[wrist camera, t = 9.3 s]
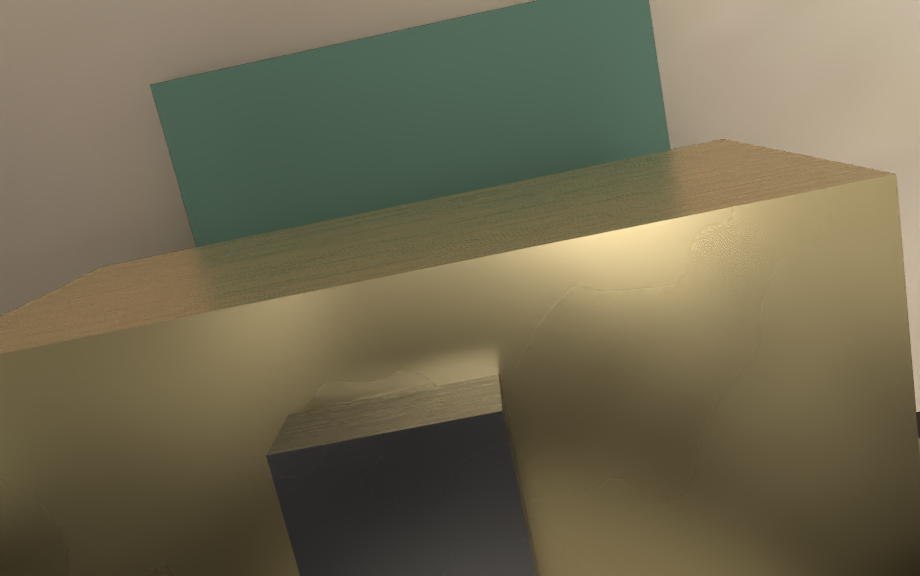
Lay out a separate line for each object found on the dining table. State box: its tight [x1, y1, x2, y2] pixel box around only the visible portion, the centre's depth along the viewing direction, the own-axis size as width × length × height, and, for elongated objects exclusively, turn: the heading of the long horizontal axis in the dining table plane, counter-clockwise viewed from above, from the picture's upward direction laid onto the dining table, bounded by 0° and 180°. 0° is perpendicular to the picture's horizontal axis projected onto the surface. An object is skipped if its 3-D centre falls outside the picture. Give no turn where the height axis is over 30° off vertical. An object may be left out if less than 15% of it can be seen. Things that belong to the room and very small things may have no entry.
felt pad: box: [150, 0, 670, 247], centre depth 18 cm, size 14×10×1 cm
